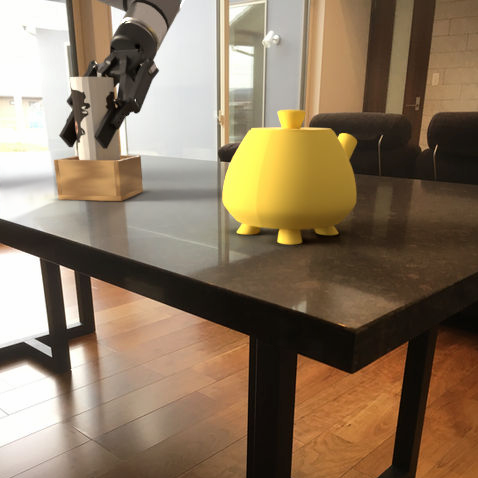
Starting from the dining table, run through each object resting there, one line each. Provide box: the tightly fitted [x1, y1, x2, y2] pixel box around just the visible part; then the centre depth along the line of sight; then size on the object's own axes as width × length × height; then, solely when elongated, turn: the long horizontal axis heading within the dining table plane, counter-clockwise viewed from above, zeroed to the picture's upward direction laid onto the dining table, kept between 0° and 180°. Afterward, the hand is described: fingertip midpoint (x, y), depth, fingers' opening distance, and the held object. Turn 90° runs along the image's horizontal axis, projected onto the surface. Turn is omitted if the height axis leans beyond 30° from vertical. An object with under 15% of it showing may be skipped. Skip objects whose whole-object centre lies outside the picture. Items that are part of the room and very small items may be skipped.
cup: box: [69, 76, 121, 161], centre depth 86 cm, size 7×7×15 cm
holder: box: [53, 154, 144, 202], centre depth 89 cm, size 11×11×6 cm
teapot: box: [222, 109, 358, 245], centre depth 61 cm, size 20×16×14 cm
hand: (82, 141), depth 84 cm, fingers closed on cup, 7 cm apart
